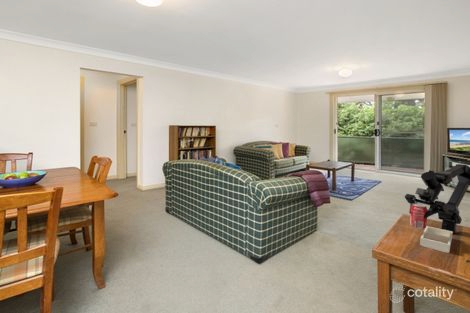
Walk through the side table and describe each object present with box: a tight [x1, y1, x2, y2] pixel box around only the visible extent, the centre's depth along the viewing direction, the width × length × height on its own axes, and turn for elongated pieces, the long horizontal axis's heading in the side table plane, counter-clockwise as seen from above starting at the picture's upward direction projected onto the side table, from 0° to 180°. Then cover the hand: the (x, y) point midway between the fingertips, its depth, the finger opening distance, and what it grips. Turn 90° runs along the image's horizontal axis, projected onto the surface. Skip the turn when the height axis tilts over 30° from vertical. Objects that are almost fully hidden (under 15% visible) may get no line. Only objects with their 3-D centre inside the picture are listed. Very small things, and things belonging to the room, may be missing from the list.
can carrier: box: [419, 225, 453, 254], centre depth 129 cm, size 21×11×4 cm, turn 137°
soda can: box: [409, 203, 429, 230], centre depth 131 cm, size 7×7×12 cm
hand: (417, 215), depth 130 cm, fingers closed on soda can, 7 cm apart
